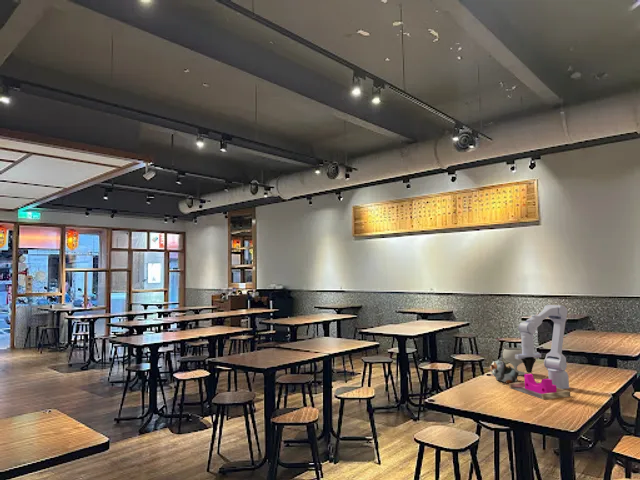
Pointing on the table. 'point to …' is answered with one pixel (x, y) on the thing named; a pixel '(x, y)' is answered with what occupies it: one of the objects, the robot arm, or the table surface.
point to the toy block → (539, 385)
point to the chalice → (513, 357)
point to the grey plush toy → (503, 372)
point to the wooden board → (521, 387)
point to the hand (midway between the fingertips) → (529, 372)
